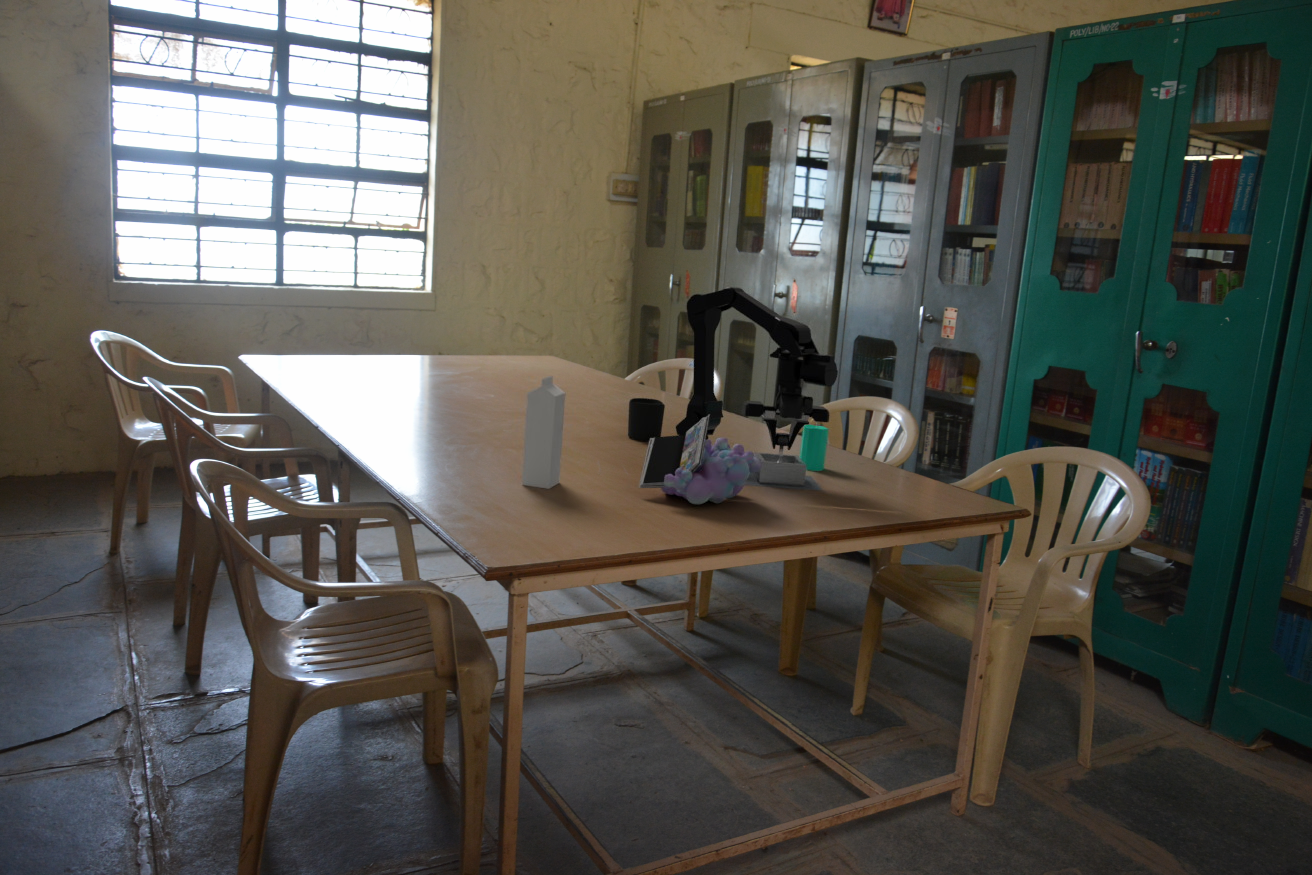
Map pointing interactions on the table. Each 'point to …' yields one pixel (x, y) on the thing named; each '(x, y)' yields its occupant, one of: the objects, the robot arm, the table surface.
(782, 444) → the plunger
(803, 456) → the candle
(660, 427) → the pen holder
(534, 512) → the table surface
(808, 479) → the slate mat
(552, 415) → the milk
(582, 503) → the table surface
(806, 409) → the robot arm
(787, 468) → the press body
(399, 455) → the table surface
